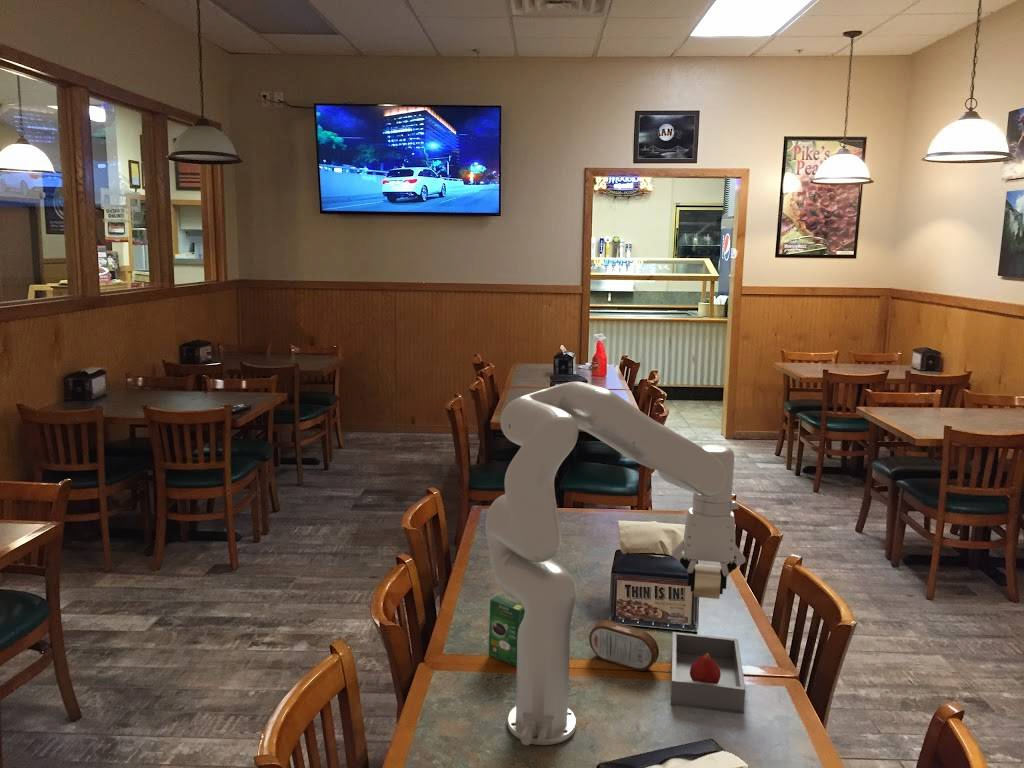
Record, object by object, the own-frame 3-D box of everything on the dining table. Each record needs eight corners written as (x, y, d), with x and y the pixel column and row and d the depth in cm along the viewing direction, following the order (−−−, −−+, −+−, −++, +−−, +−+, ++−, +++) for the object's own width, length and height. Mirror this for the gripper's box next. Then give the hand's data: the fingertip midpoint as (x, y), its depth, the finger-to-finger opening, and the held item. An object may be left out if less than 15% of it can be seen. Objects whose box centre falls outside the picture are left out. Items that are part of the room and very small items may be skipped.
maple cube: (719, 599, 161) (720, 575, 160) (694, 596, 162) (695, 573, 161) (717, 588, 166) (719, 566, 165) (693, 586, 167) (694, 563, 166)
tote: (743, 713, 151) (745, 689, 150) (670, 704, 153) (671, 680, 152) (736, 660, 170) (737, 639, 169) (671, 653, 172) (672, 631, 171)
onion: (683, 689, 157) (685, 652, 156) (699, 678, 161) (701, 642, 160) (709, 702, 153) (711, 664, 152) (724, 690, 157) (727, 653, 156)
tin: (658, 670, 166) (660, 633, 164) (653, 677, 163) (655, 639, 161) (592, 650, 173) (594, 614, 172) (586, 657, 170) (587, 620, 169)
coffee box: (526, 662, 168) (527, 604, 165) (518, 668, 165) (519, 610, 163) (496, 650, 172) (496, 594, 170) (487, 656, 170) (488, 599, 168)
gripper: (753, 503, 163) (747, 586, 166) (668, 497, 166) (664, 578, 169) (757, 515, 156) (750, 602, 159) (668, 508, 159) (664, 594, 162)
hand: (706, 589), depth 164 cm, fingers closed on maple cube, 5 cm apart
